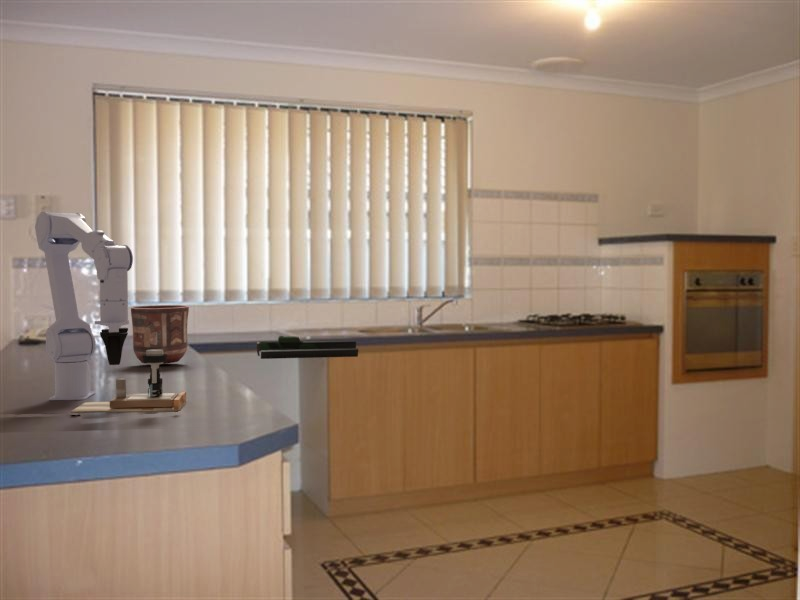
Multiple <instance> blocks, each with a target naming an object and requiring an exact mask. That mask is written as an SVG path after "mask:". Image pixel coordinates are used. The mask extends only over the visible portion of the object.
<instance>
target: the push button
mask: <svg viewBox="0 0 800 600" xmlns="http://www.w3.org/2000/svg"><path fill="white" fill-rule="evenodd" d="M167 356H168V354H164V353H163V350H161V349H153V350H146V353H145V354H144V355H142V357H143V362H145V363H144V364H146V365H150V369H149V370H150V374H149V378H148V379H147V384H148V388H147V394H148V395H149V394H150V397H159V395H160V394H162V395H163V393H164V392H163V377H162V378H161V373H160V371H161V370H160V365H164V364H163V362H166V357H167Z"/></svg>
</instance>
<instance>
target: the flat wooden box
mask: <svg viewBox="0 0 800 600" xmlns="http://www.w3.org/2000/svg"><path fill="white" fill-rule="evenodd" d="M186 403H187V391H181V392H180V393H178V396H177V397H176V398H175V399H174V406H173V407H131V408H110V401H85V402H83V403H81V404H80V405H79V406H77V407H75V408H74V409H72V410H71V411H70V414H71V413H79V414H81V413H83V414H84V413H118V412H119V413H123V412H124V413H125V412H127V413H128V412H170V411H180V410H181V408H183V406H184V405H186Z"/></svg>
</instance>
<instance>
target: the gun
mask: <svg viewBox="0 0 800 600" xmlns="http://www.w3.org/2000/svg"><path fill="white" fill-rule="evenodd" d="M277 340H278V341H256V353H257V354H256V355H257V357H260V359H261V360H265V359H266V360H269V359H270V360H273V359H275V360H276V359H306V358H307V359H312V358H314V359H315V358H316V359H317V358H319V359H320V358H353V357H356V358H358V357H359V349H360V350H362V349H363V348H357V340H354V339H353V340H301V339H300V337H299V336H295V335H294V336H284V335H279V336H278V339H277Z"/></svg>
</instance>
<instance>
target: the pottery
mask: <svg viewBox="0 0 800 600" xmlns="http://www.w3.org/2000/svg"><path fill="white" fill-rule="evenodd" d="M189 312H190V307H189V306H188V305H179V304H178V305H177V304H176V305H174V304H173V305H172V304H161V305H136V306H132V307H130V315H131V324H132V348H133V349H132V350H133V353H134V355H135V356H136V358H137V359H138V361H140V363H142V364H146V363H145V362H143V357H142V355H144V354H145V353H146V350H153V349H161V350H163V353H164V354H168V356H167V357H166V362H163V364H162V365H164V364H171V363H172V364H173V363H177V362H179V361H181V359H182V358H183V357H184V356H185V354H186V352H187V349H188V320H189V319H188V317H189Z"/></svg>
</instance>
